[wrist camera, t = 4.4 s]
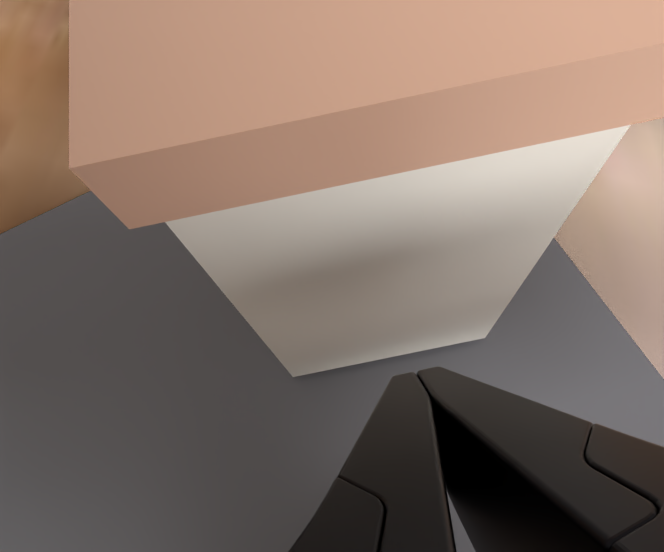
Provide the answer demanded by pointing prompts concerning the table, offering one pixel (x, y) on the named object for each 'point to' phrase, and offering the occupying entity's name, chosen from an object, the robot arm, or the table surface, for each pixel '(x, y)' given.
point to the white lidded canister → (358, 149)
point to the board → (231, 392)
